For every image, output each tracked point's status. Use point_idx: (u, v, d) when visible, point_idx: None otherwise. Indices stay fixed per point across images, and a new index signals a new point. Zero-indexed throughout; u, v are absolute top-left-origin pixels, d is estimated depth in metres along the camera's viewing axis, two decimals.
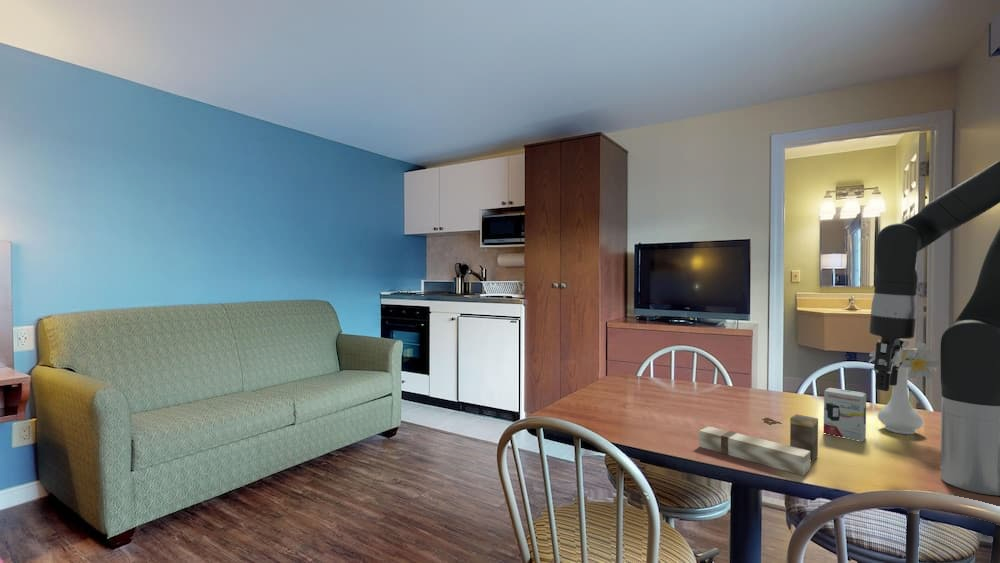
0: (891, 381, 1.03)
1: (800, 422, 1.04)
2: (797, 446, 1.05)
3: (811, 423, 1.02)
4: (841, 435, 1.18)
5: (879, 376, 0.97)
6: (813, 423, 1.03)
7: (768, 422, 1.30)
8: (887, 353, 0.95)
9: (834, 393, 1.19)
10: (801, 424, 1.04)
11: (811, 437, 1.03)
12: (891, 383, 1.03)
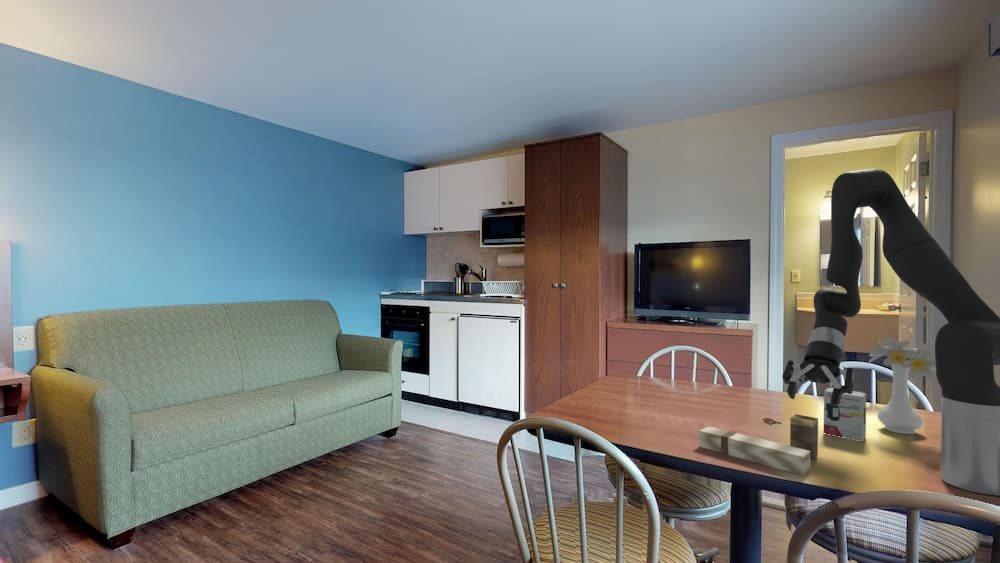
0: None
1: (800, 422, 1.04)
2: (797, 446, 1.05)
3: (811, 423, 1.02)
4: (841, 435, 1.18)
5: None
6: (813, 423, 1.03)
7: (768, 422, 1.30)
8: None
9: None
10: (801, 424, 1.04)
11: (811, 437, 1.03)
12: (831, 402, 1.07)
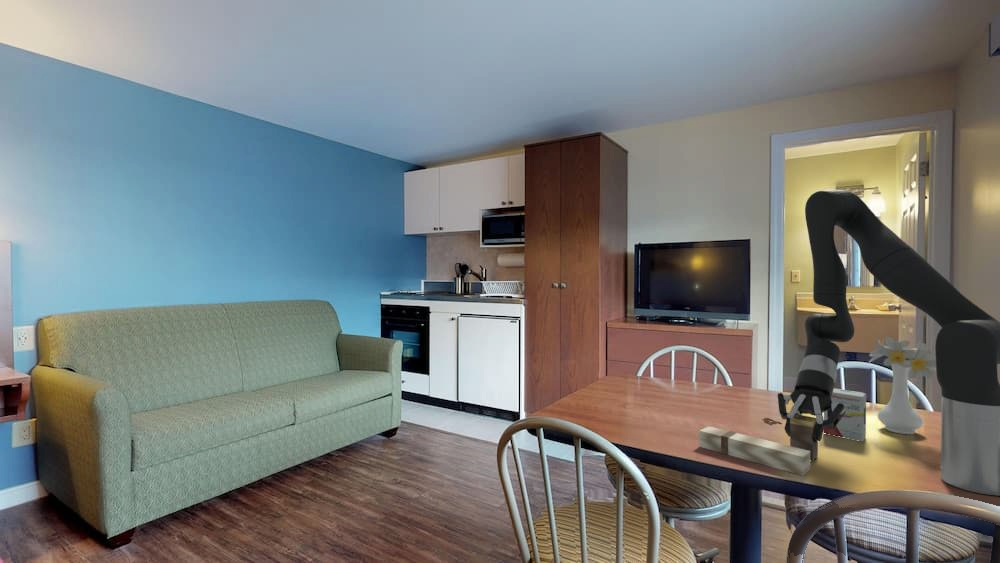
0: None
1: (799, 422, 1.04)
2: (797, 446, 1.05)
3: (811, 423, 1.02)
4: (841, 435, 1.18)
5: None
6: (813, 423, 1.03)
7: (768, 422, 1.30)
8: None
9: (834, 393, 1.19)
10: (801, 424, 1.04)
11: (811, 437, 1.03)
12: None
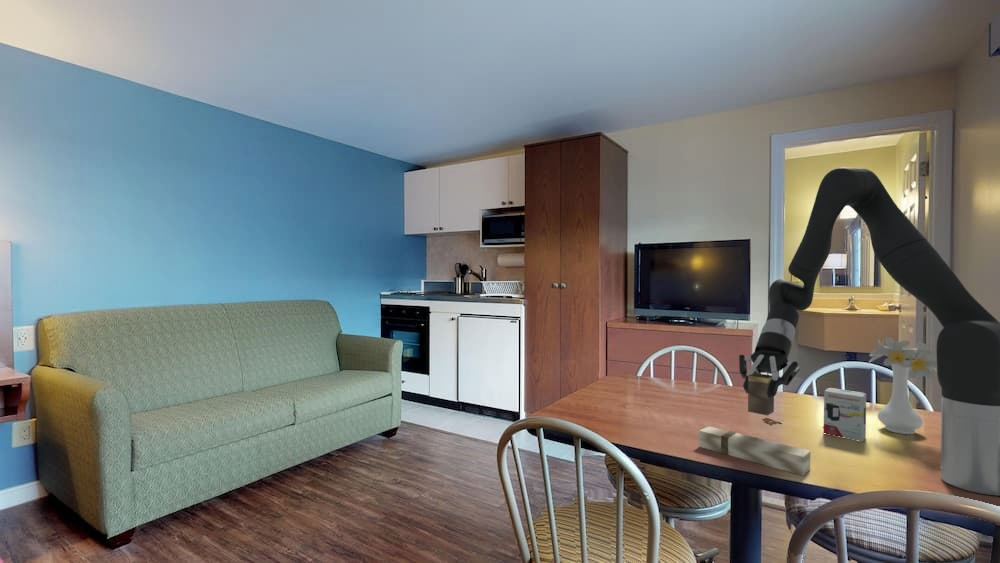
0: None
1: (756, 379, 1.11)
2: (754, 401, 1.12)
3: (766, 379, 1.09)
4: (841, 435, 1.18)
5: None
6: (768, 379, 1.10)
7: (769, 422, 1.30)
8: None
9: (834, 393, 1.19)
10: (758, 381, 1.11)
11: (766, 392, 1.10)
12: None
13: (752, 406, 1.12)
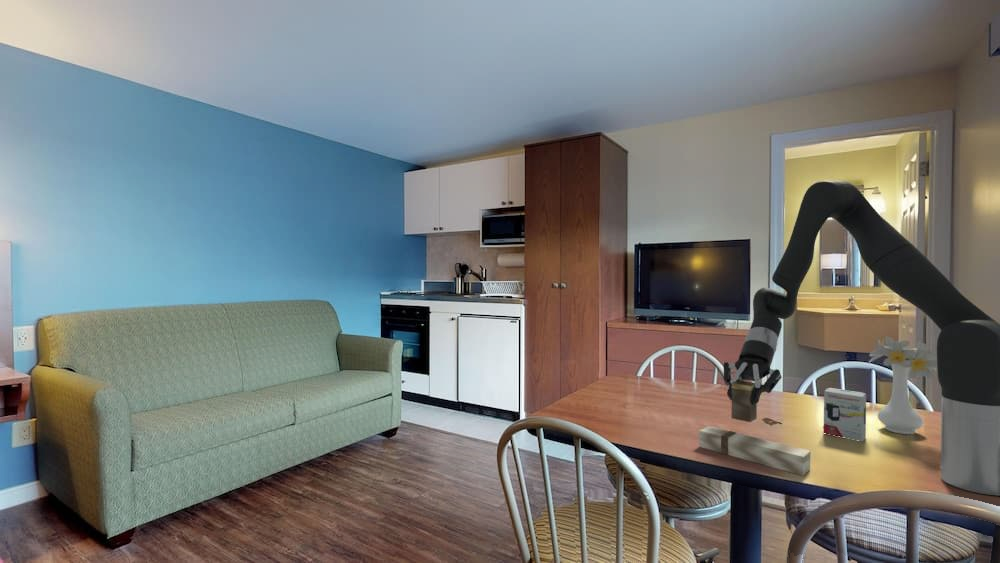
0: None
1: (739, 387, 1.14)
2: (737, 408, 1.14)
3: (749, 387, 1.12)
4: (841, 435, 1.18)
5: None
6: (751, 387, 1.12)
7: (769, 422, 1.30)
8: None
9: (834, 393, 1.19)
10: (741, 388, 1.14)
11: (749, 399, 1.12)
12: None
13: (735, 413, 1.15)
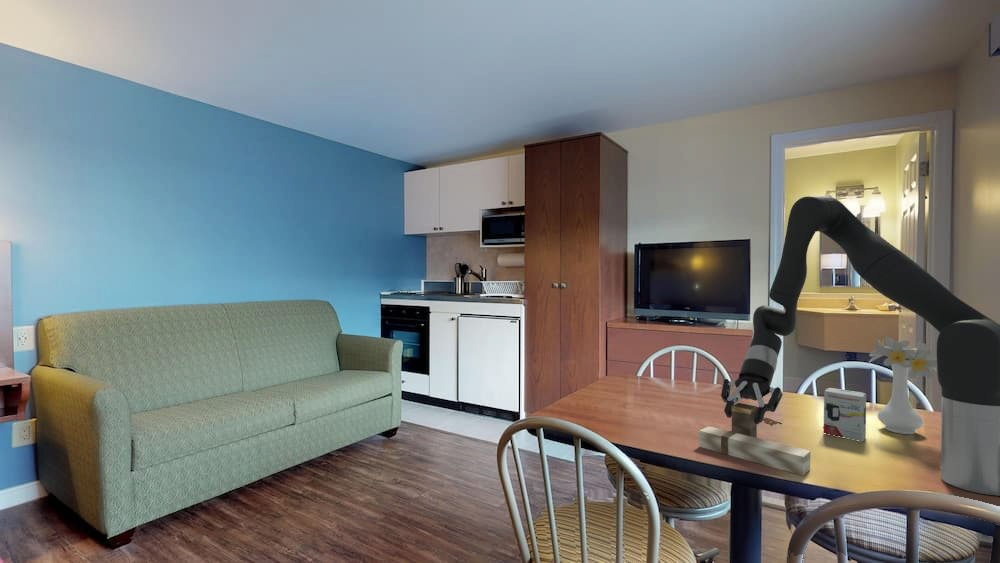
0: None
1: (739, 410, 1.14)
2: (737, 431, 1.14)
3: (749, 410, 1.12)
4: (841, 435, 1.18)
5: None
6: (751, 410, 1.13)
7: (769, 422, 1.30)
8: None
9: (834, 393, 1.19)
10: (741, 411, 1.14)
11: (749, 423, 1.12)
12: None
13: None
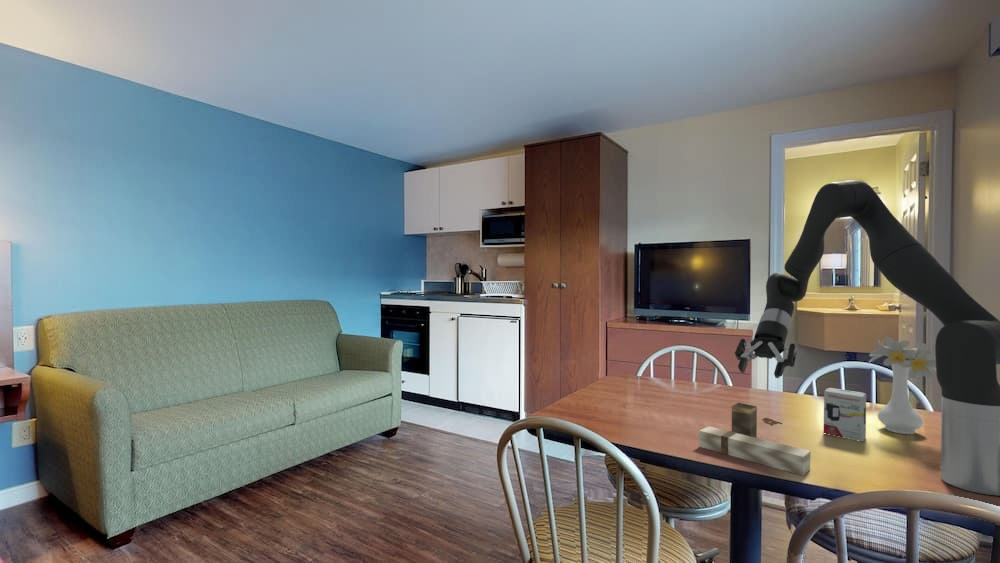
0: None
1: (739, 410, 1.14)
2: (737, 431, 1.14)
3: (749, 410, 1.12)
4: (841, 435, 1.18)
5: None
6: (751, 410, 1.13)
7: (769, 422, 1.30)
8: None
9: (834, 393, 1.19)
10: (740, 411, 1.14)
11: (749, 423, 1.12)
12: None
13: None
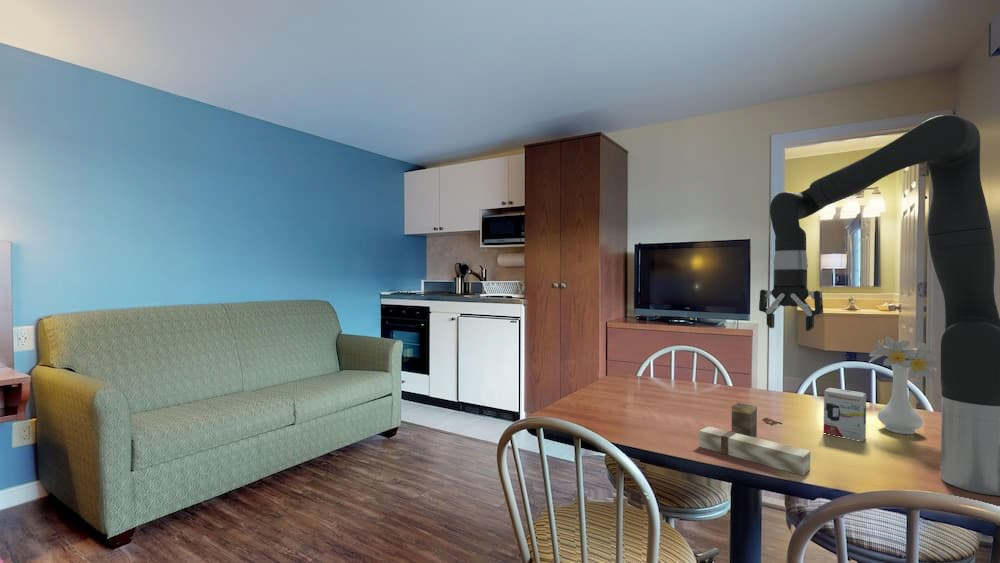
0: None
1: (739, 410, 1.14)
2: (737, 431, 1.14)
3: (749, 410, 1.12)
4: (841, 435, 1.18)
5: None
6: (751, 410, 1.13)
7: (769, 423, 1.30)
8: None
9: (834, 393, 1.19)
10: (740, 411, 1.14)
11: (749, 423, 1.12)
12: None
13: None
